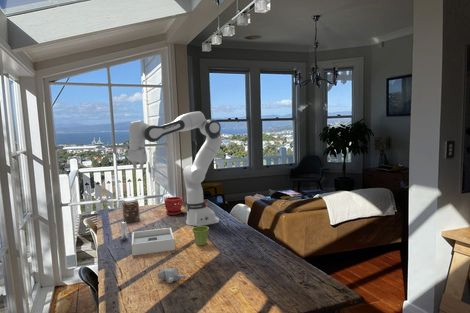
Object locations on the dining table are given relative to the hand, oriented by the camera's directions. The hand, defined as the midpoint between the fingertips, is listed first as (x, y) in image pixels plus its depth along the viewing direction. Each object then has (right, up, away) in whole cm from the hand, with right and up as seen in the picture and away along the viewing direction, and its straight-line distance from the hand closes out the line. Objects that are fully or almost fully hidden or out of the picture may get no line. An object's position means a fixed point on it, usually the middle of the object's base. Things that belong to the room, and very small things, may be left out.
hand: (138, 168), depth 222 cm
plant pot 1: (+15, -36, +45) cm, 59 cm away
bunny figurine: (+33, -46, -70) cm, 90 cm away
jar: (-14, -38, +32) cm, 52 cm away
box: (+15, -42, -25) cm, 52 cm away
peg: (-5, -42, -10) cm, 43 cm away
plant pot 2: (+42, -41, -25) cm, 64 cm away
